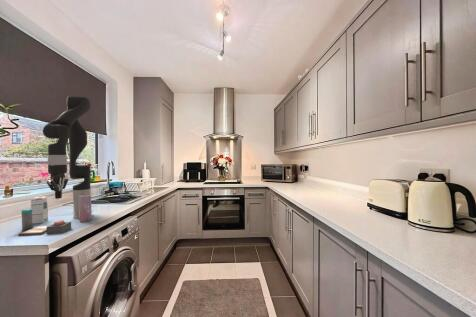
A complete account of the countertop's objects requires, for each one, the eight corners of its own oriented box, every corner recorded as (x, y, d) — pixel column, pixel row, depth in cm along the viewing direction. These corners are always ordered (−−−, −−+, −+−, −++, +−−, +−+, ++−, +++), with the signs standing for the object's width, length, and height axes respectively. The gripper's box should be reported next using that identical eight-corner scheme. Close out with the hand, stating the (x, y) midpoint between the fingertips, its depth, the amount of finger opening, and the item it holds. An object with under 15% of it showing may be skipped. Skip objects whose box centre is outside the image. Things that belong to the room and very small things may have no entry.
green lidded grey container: (26, 228, 116) (25, 209, 116) (35, 228, 117) (34, 208, 117) (19, 231, 112) (19, 211, 112) (28, 230, 113) (28, 210, 113)
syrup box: (43, 222, 128) (43, 197, 128) (31, 223, 126) (30, 198, 126) (48, 219, 133) (47, 196, 133) (35, 221, 131) (35, 197, 131)
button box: (56, 229, 114) (56, 222, 114) (71, 228, 115) (71, 221, 115) (46, 233, 107) (46, 226, 107) (62, 232, 108) (62, 225, 108)
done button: (57, 223, 113) (57, 220, 113) (66, 223, 113) (66, 220, 113) (52, 226, 109) (51, 222, 109) (60, 225, 109) (60, 222, 109)
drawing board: (37, 228, 117) (37, 226, 117) (58, 226, 118) (58, 224, 118) (18, 236, 105) (18, 233, 105) (41, 234, 106) (41, 232, 106)
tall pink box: (89, 218, 133) (89, 194, 133) (93, 220, 130) (92, 195, 130) (77, 221, 129) (77, 195, 129) (81, 222, 125) (80, 196, 125)
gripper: (58, 164, 117) (59, 196, 117) (39, 164, 104) (40, 201, 104) (73, 163, 118) (74, 195, 118) (56, 164, 105) (57, 200, 105)
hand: (58, 198), depth 111 cm, fingers closed
